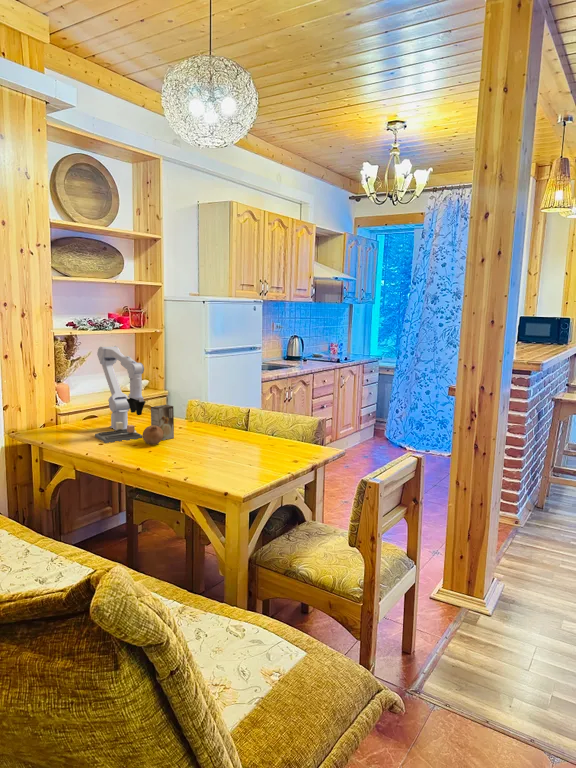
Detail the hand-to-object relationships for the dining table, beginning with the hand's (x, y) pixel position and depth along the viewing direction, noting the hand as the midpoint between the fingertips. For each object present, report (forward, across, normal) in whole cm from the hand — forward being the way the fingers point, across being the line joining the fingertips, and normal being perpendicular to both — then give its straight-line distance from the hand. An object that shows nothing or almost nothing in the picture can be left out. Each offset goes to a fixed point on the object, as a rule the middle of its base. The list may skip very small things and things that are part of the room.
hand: (136, 413), depth 270 cm
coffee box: (+10, +18, +6) cm, 21 cm away
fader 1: (+8, +1, -9) cm, 12 cm away
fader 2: (+8, +10, -7) cm, 15 cm away
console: (+10, +5, -11) cm, 16 cm away
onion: (+10, +25, -2) cm, 27 cm away
